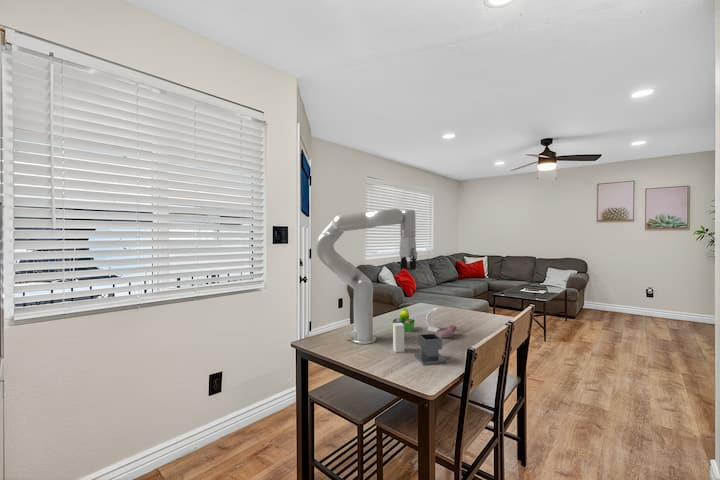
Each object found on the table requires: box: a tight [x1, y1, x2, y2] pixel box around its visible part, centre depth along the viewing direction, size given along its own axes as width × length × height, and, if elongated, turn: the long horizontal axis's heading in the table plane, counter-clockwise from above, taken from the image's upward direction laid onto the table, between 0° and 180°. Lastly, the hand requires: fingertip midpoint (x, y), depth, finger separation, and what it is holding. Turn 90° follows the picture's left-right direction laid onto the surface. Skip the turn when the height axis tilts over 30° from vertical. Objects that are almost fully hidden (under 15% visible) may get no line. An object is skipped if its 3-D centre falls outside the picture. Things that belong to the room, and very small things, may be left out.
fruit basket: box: [391, 307, 416, 333], centre depth 172 cm, size 11×9×11 cm
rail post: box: [392, 322, 405, 353], centre depth 141 cm, size 4×4×12 cm
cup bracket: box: [414, 332, 447, 366], centre depth 131 cm, size 10×10×10 cm
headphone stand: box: [425, 307, 440, 333], centre depth 170 cm, size 5×6×12 cm
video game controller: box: [440, 324, 457, 339], centre depth 159 cm, size 10×5×7 cm, turn 148°
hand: (408, 268), depth 158 cm, fingers open, 9 cm apart
